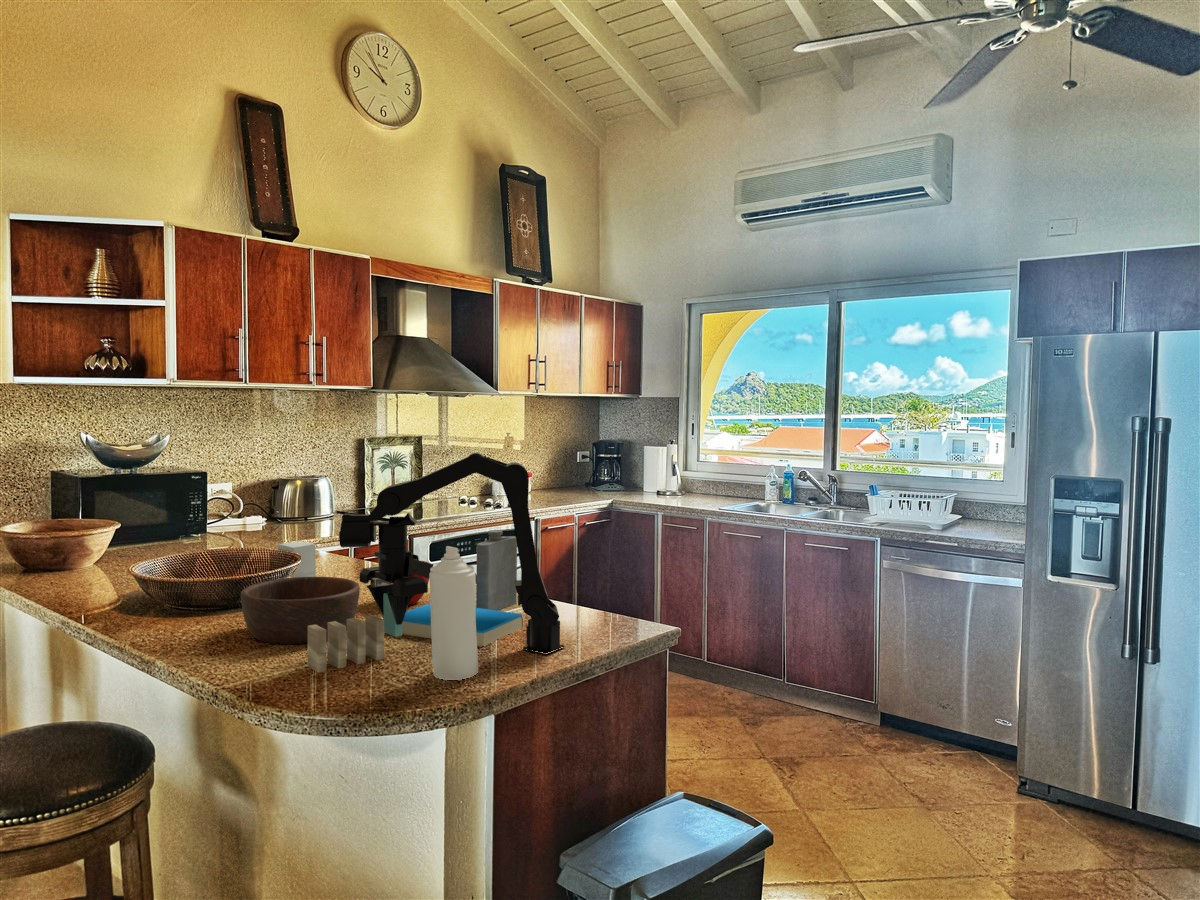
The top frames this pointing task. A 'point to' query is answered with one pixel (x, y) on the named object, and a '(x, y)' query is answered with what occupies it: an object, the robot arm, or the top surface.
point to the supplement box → (302, 557)
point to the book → (487, 624)
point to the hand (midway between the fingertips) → (392, 621)
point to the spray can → (453, 617)
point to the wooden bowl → (297, 606)
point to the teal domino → (390, 619)
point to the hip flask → (496, 572)
